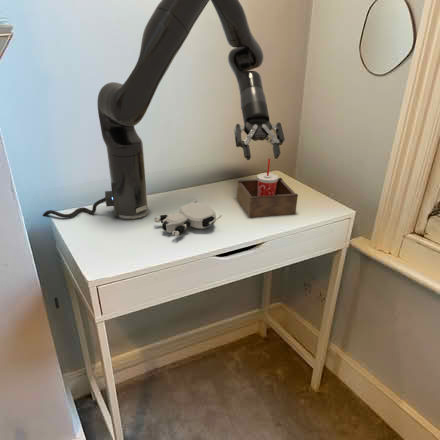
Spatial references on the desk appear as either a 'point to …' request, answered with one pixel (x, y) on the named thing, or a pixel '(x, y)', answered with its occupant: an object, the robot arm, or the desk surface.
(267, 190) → the beverage cup
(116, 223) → the desk surface
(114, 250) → the desk surface
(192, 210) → the robot toy
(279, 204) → the crate
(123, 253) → the desk surface
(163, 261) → the desk surface
